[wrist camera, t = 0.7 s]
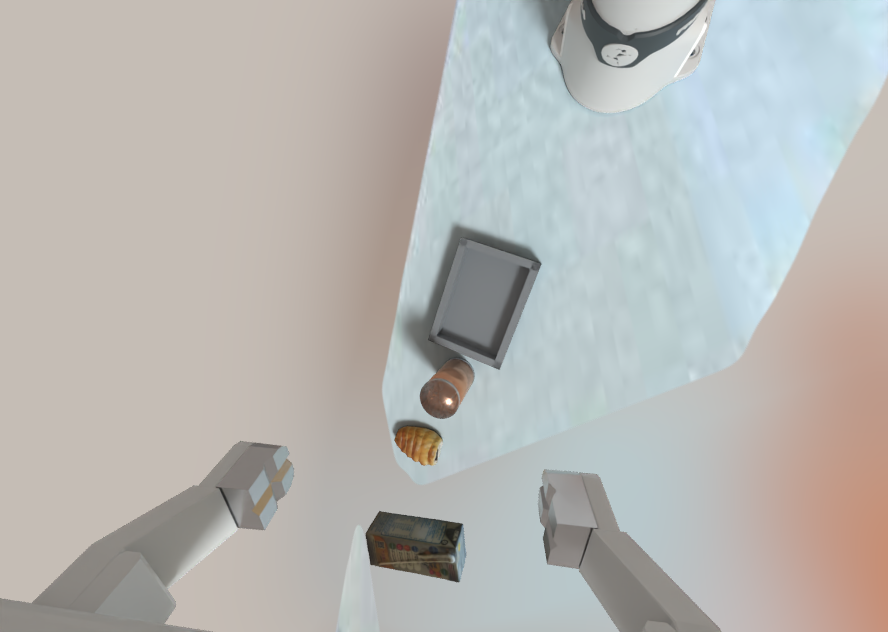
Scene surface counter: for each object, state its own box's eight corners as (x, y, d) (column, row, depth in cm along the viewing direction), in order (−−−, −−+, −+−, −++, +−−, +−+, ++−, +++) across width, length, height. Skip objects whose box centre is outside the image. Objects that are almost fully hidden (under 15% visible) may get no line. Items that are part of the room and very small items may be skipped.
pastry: (396, 446, 65) (387, 457, 61) (401, 416, 63) (392, 426, 60) (439, 462, 62) (433, 475, 59) (445, 432, 61) (439, 443, 57)
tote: (465, 238, 53) (461, 237, 50) (541, 263, 50) (541, 264, 48) (433, 335, 58) (428, 339, 55) (501, 364, 55) (499, 369, 52)
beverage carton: (468, 557, 64) (459, 589, 58) (382, 541, 70) (367, 568, 64) (464, 521, 63) (455, 550, 57) (378, 508, 69) (361, 533, 63)
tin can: (447, 352, 58) (426, 373, 47) (479, 366, 56) (464, 390, 46) (437, 381, 59) (415, 407, 49) (468, 395, 58) (451, 425, 48)
